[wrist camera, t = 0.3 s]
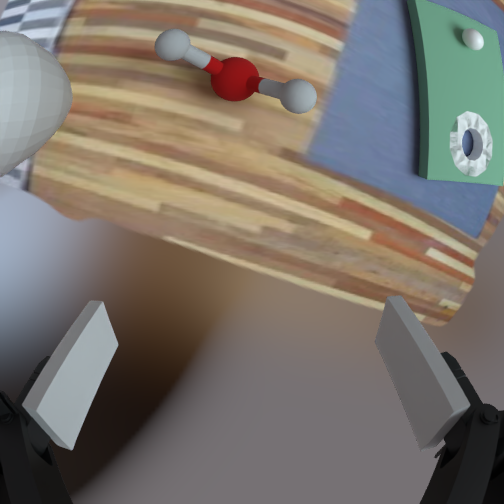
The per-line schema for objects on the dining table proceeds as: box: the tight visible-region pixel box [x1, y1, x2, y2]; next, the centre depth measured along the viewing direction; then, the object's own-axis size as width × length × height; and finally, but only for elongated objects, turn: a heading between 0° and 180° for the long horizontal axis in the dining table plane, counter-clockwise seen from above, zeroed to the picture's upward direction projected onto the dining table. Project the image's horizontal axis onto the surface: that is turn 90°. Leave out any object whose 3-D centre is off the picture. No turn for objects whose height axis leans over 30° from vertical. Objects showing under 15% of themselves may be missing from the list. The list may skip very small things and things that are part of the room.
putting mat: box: [407, 0, 504, 186], centre depth 29 cm, size 28×18×2 cm, turn 4°
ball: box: [462, 28, 484, 50], centre depth 22 cm, size 4×4×4 cm
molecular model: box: [155, 29, 317, 114], centre depth 27 cm, size 18×6×10 cm, turn 63°
